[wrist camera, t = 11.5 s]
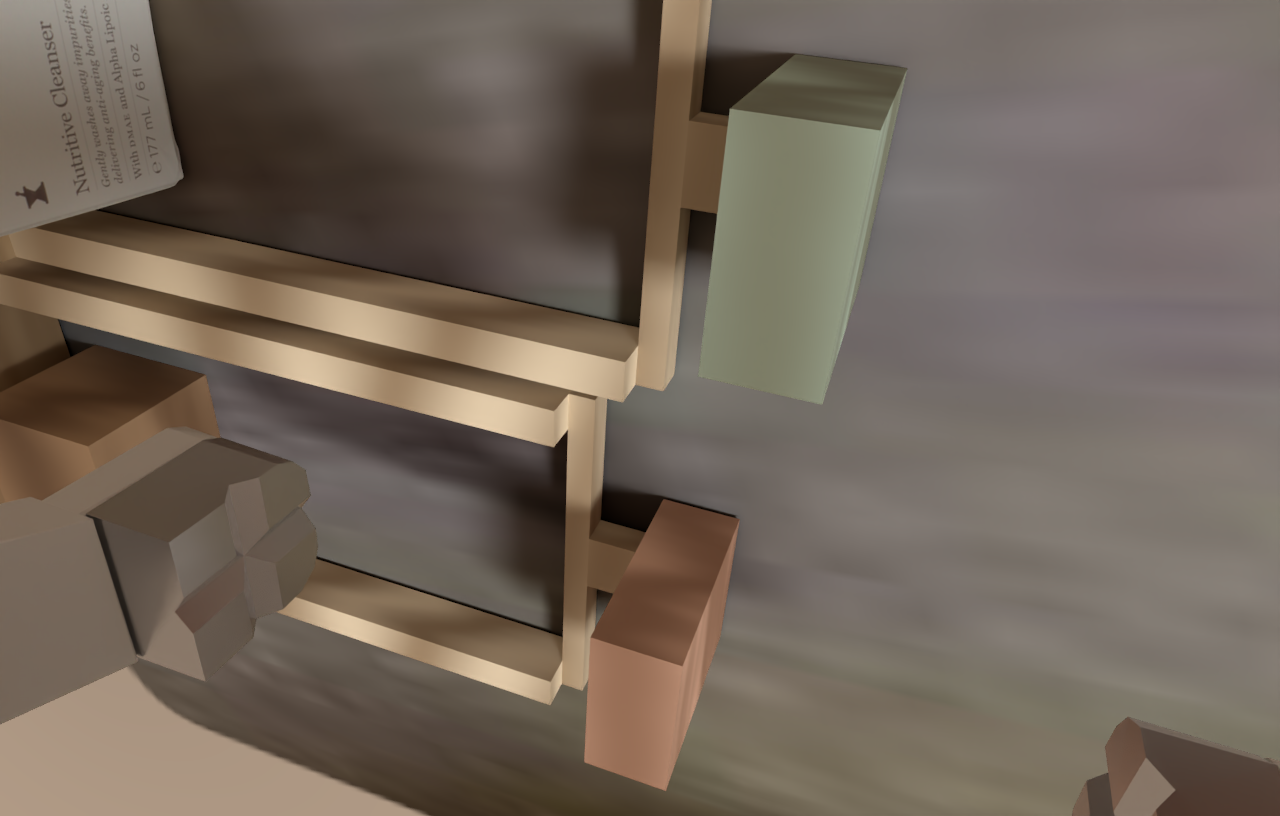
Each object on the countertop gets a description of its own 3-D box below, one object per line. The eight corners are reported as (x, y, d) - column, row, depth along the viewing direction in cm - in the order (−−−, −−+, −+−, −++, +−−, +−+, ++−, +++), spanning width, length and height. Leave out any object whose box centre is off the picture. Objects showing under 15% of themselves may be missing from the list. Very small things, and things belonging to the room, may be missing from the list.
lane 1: (951, -134, 16) (940, -149, 11) (832, 410, 22) (791, 550, 18) (-99, -205, 23) (-395, -235, 18) (43, 230, 29) (-145, 296, 24)
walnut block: (207, 373, 30) (88, 446, 26) (233, 484, 33) (128, 566, 29) (97, 343, 31) (-33, 409, 27) (130, 453, 34) (16, 527, 30)
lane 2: (756, 418, 23) (697, 554, 19) (708, 707, 30) (655, 863, 25) (8, 242, 30) (-180, 308, 25) (102, 510, 36) (-33, 604, 32)
